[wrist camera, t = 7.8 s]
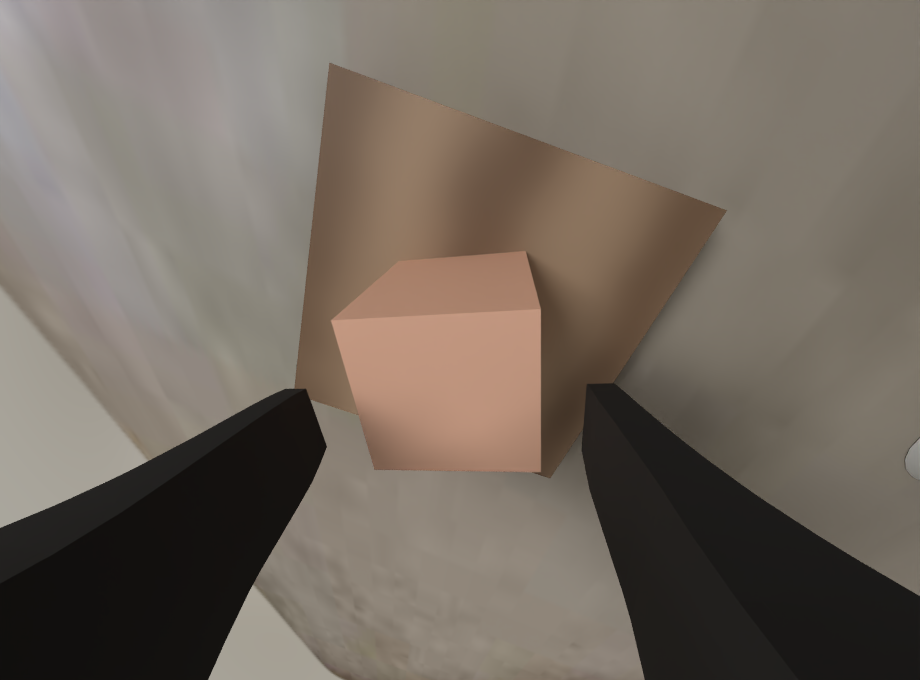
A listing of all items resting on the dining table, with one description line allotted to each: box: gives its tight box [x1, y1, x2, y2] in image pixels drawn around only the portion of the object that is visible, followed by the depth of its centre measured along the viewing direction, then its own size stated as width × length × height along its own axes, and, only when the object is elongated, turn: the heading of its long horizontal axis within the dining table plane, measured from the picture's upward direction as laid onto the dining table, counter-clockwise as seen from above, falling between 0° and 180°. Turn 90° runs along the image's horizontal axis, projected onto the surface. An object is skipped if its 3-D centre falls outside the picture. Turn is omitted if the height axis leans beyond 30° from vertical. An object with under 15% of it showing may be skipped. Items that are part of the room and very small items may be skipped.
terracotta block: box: [331, 251, 541, 472], centre depth 12 cm, size 5×5×6 cm
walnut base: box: [295, 63, 727, 478], centre depth 16 cm, size 14×14×3 cm
